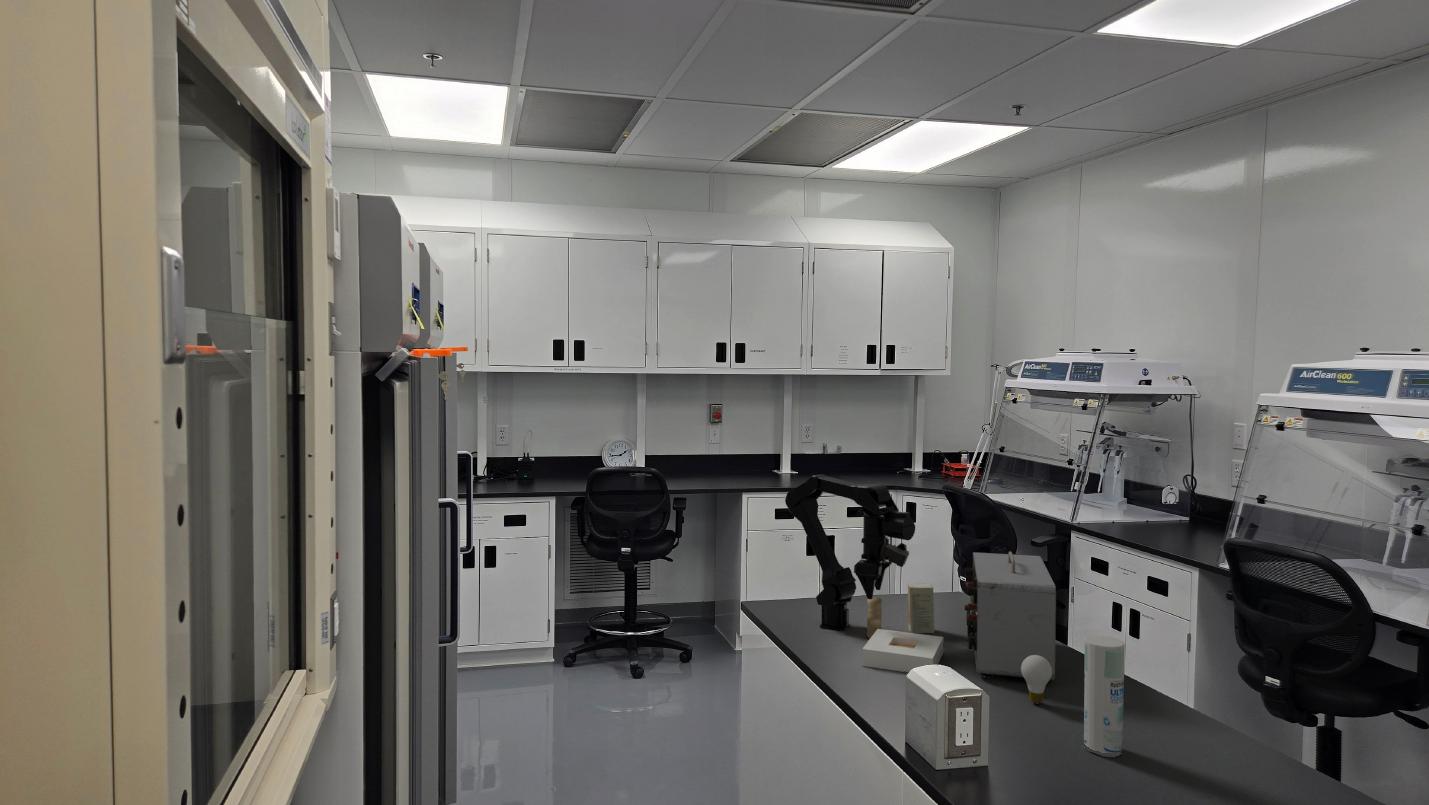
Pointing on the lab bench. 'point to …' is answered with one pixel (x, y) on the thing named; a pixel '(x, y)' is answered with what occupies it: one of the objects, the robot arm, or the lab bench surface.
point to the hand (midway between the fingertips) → (874, 594)
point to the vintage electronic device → (1010, 612)
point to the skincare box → (920, 608)
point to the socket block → (901, 650)
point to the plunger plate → (904, 646)
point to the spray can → (1103, 693)
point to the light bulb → (1036, 676)
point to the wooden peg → (874, 615)
